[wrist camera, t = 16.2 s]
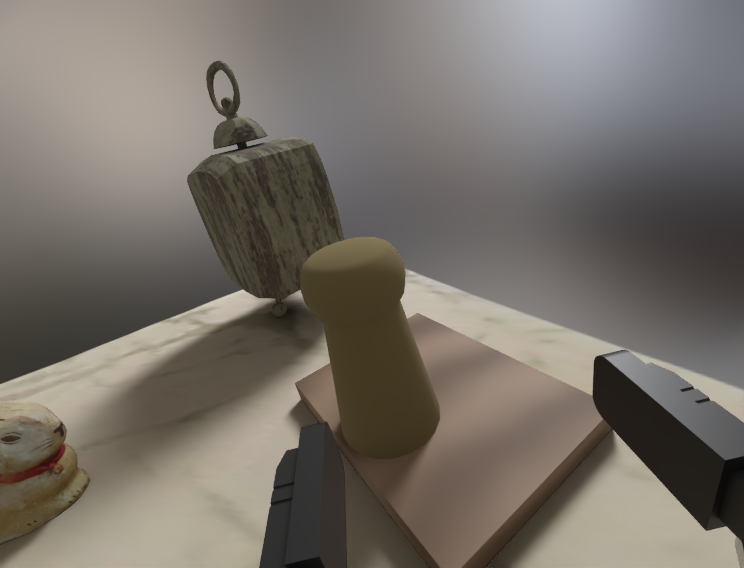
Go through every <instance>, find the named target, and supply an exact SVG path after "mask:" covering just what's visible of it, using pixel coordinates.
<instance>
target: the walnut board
mask: <svg viewBox="0 0 744 568" xmlns="http://www.w3.org/2000/svg"><path fill="white" fill-rule="evenodd" d="M407 320H408V323H409V326H410V328H411V331H412V334H413V336H414V339H415V342H416V344H417V347H418V350H419V352H420V355H421V358H422V360H423V363H424V366H425V368H426V371H427V374H428V376H429V379H430V382H431V384H432V387H433V390H434V392H435V395H436V398H437V400H438V403H439V406H440V420H439V423H438V426H437V429H436V431H435V433H434V434H433V435H432V436H431V437H430V439H429V440H428V441H427V442H426V443H425V444H424V445H422V446H421V447H419V448H418V449H416V450H415V451H413V452H412V453H409V454H406V455H403V456H400V457H397V458H390V459H375V458H371V457H367V456H364V455H361V454H359V453H358V452H356V451H355V450H354V449H352V448H351V447H350V446H349V445H348V443H347V441H346V440H345V438H344V437H343V432H342V426H341V421H340V415H339V409H338V403H337V398H336V392H335V386H334V380H333V375H332V369H331V363H329V364H328V365H326V366H324V367H322V368H321V369H319V370H317V371H316V372H314V373H312V374H310V375H309V376H307V377H305V378H303V379H302V380H300V381H298V382H296V383H295V385H296V387H297V390H298V392H299V395H300V397H301V399H302V400H303V402H304V403H305V404H306V406H307V407H308V408H309V410H310V411H311V412H312V414H313V415H314V416H315V417H316V419H317V420H318V421H319V423H321V422H326V421H327V422H328V424H329V426H330V429H331V431H332V434H333V437H334V439H335V442H336V445H337V446H338V448H339V449H340V450H341V452H342V453H343V454H344V456H345V457H346V458H347V459H348V461H349V462H350V463H351V465H352V466H353V467H354V469H355V470H356V471H357V473H358V474H359V475H360V476H361V478H362V479H363V480H364V482H365V483H366V484H367V486H368V487H369V488H370V490H371V491H372V492H373V494H374V495H375V496H376V497H377V499H378V500H379V501H380V503H381V504H382V505H383V507H384V508H385V509H386V511H387V512H388V513H389V514H390V516H391V517H392V518H393V520H394V521H395V522H396V524H397V525H398V526H399V528H400V529H401V530H402V532H403V533H404V534H405V535H406V537H407V538H408V539H409V541H410V542H411V543H412V545H413V546H414V547H415V549H416V550H417V551H418V552H419V554H420V555H421V556H422V558H423V559H424V560H425V562H426V563H427V564H428V566H429V567H430V568H485V567H486V566H487V565H488V563H489V562H490V561H491V560H492V559H493V558H494V557H495V556H496V555H497V554H498V553H499V551H500V550H501V549H502V548H503V547H504V546H505V545H506V544H507V543H508V542H509V541H510V539H511V538H512V537H513V536H514V535H515V534H516V533H517V532H518V531H519V530H520V529H521V527H522V526H523V525H524V524H525V523H526V522H527V521H528V520H529V519H530V518H531V516H532V515H533V514H534V513H535V512H536V511H537V510H538V509H539V508H540V507H541V506H542V504H543V503H544V502H545V501H546V500H547V499H548V498H549V497H550V496H551V495H552V494H553V492H554V491H555V490H556V489H557V488H558V487H559V486H560V485H561V484H562V483H563V482H564V480H565V479H566V478H567V477H568V476H569V475H570V474H571V473H572V472H573V471H574V470H575V468H576V467H577V466H578V465H579V464H580V463H581V462H582V461H583V460H584V459H585V458H586V456H587V455H588V454H589V453H590V452H591V451H592V450H593V449H594V448H595V447H596V446H597V444H598V443H599V442H600V441H601V440H602V439H603V438H604V437H605V436H606V435H607V434H608V432H609V431H610V430H611V429H612V428H611V427H610V426H609V425H608V423H607V422H606V421H605V420H604V419H603V418H602V417H601V415H600V414H599V412H598V411H597V409H596V407H595V404H594V401H593V396H591V395H589V394H587V393H585V392H583V391H581V390H579V389H577V388H574V387H572V386H570V385H568V384H566V383H564V382H562V381H560V380H558V379H556V378H553V377H551V376H549V375H547V374H545V373H543V372H541V371H539V370H537V369H534V368H532V367H530V366H528V365H526V364H524V363H522V362H520V361H518V360H515V359H513V358H511V357H509V356H507V355H505V354H503V353H501V352H499V351H497V350H494V349H492V348H490V347H488V346H486V345H484V344H482V343H480V342H478V341H475V340H473V339H471V338H469V337H467V336H465V335H463V334H461V333H459V332H456V331H454V330H452V329H450V328H448V327H446V326H444V325H442V324H440V323H438V322H435V321H433V320H431V319H429V318H427V317H425V316H423V315H421V314H419V313H417V314H415V315H413V316H411V317H410V318H408V319H407Z"/></svg>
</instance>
